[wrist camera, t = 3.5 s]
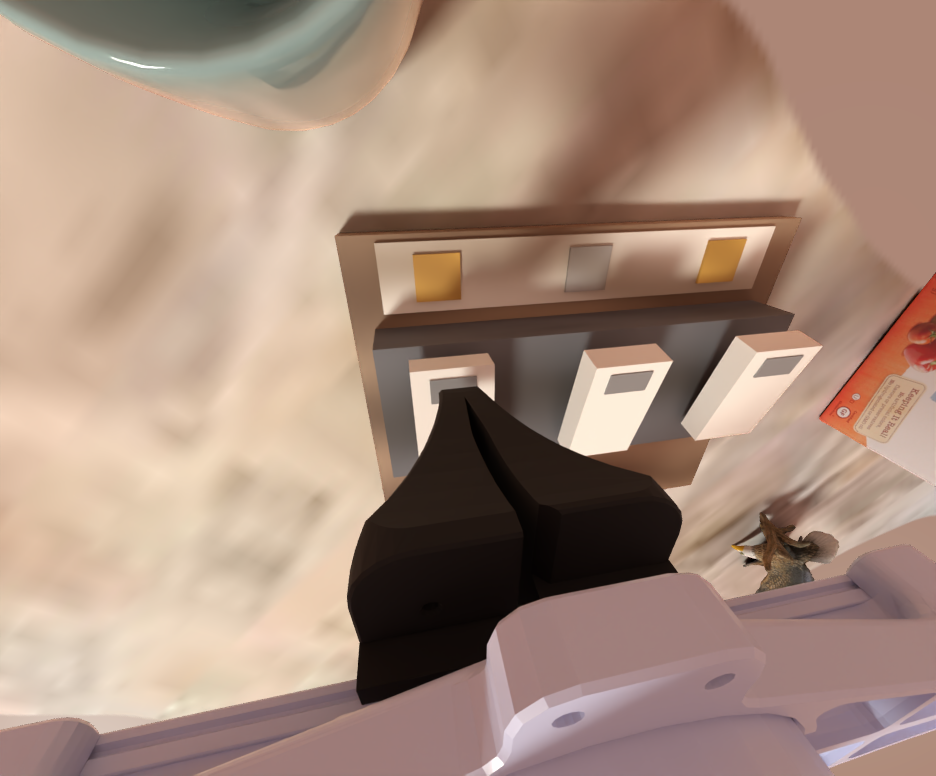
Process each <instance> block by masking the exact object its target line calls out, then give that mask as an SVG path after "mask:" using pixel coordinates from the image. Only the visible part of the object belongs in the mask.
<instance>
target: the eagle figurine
mask: <svg viewBox="0 0 936 776" xmlns="http://www.w3.org/2000/svg"><path fill="white" fill-rule="evenodd" d="M760 522H761V523H760V527H761V531H762V532H763V534H764V536H765V537H766V540H767V543H766V544H759V545H754V546H735V545H732V546H731V547H733V548H734V549H736V550H737V551H738V552H739V553H740V554H741V555H744V556H748V557H751V558H754V559H758V560H756V561H753V562H751V563H748V564H746V565H743V567H746V566H749V565H761V566H764V567H765V570H766V571H767V572H768V574H767V576H766V577H765V578H764V579H763V581H762V582H761V585H760V588H759V589H758V590H757V591H756V593H761V592H765V591H770V590H775V589H779V588H784V587H789V586H793V585H798V584H803V583H807V582H812V581H814V578H813V577H812V574H811V573H810V570H809V569H808V568H807V566H806V565H805V563H806V562H808V561H811V562H818V563H824V564H827V563H830V562H831V561H832V560H833V559H834V557H835V556H836V554H837V551H838V548H839V545H838V543H839V542H838V541H837V540H836V539H835V538H834V537H833V536H832V535H830V534H827V533H823V532H819V531H813V532H811V533H809V534H808V535H807V536H806V537H805V538H804V540H803V541H802V539H803V538H802V536H800V538H799V540H798V541H795V540H793V539H791V538H789V537H788V536H787V535H785V533H786V532H790V531H793V530H794V529H795V528H796V527H795V526H794V525H789V526H788V527H786V528H777V527H776V526H775V525H773V524H772V523H771V522H770V521H769V520H768V518H767V517H766V516H765V514H763V513H760ZM756 593H755V594H756Z"/></svg>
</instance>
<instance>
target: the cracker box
mask: <svg viewBox="0 0 936 776" xmlns="http://www.w3.org/2000/svg"><path fill="white" fill-rule="evenodd" d="M819 419H820V420H821V421H822V422H824V423H826V424H828V425H829V426H831V427H833V428H835V429H836V430H838V431H840V432H842V433H843V434H845V435H847V436H848V437H850V438H851V439H853V440H855V441H857V442H858V443H860V444H862V445H864V446H865V447H867V448H869V449H871V450H872V451H874V452H876V453H878V454H879V455H881V456H883V457H885V458H887V459H888V460H890V461H892V462H894V463H895V464H897V465H899V466H900V467H902V468H904V469H906V470H907V471H909V472H911V473H913V474H914V475H916V476H918V477H919V478H921V479H923V480H925V481H927V482H928V483H930V484H932V485H934V486H935V487H936V273H935V274H934V275H933V277H932V278H931V279H930V280H929V282H928V283H927V284H926V285H925V287H924V288H923V289H922V290H921V292H920V293H919V294H918V295H917V297H916V298H915V299H914V300H913V302H912V303H911V304H910V305H909V307H908V308H907V309H906V310H905V311H904V313H903V314H902V315H901V316H900V318H899V319H898V320H897V322H896V323H895V324H894V325H893V326H892V328H891V329H890V330H889V332H888V333H887V334H886V335H885V337H884V338H883V339H882V340H881V342H880V343H879V344H878V345H877V347H876V348H875V349H874V350H873V352H872V353H871V354H870V355H869V356H868V358H867V359H866V360H865V361H864V363H863V364H862V365H861V367H860V368H859V369H858V370H857V372H856V373H855V374H854V375H853V377H852V378H851V379H850V380H849V381H848V383H847V384H846V385H845V386H844V388H843V389H842V390H841V391H840V393H839V394H838V395H837V396H836V397H835V399H834V400H833V401H832V402H831V404H830V405H829V406H828V407H827V409H826V410H825V411H824V412H823V414H822V415H821V416H820V418H819Z"/></svg>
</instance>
